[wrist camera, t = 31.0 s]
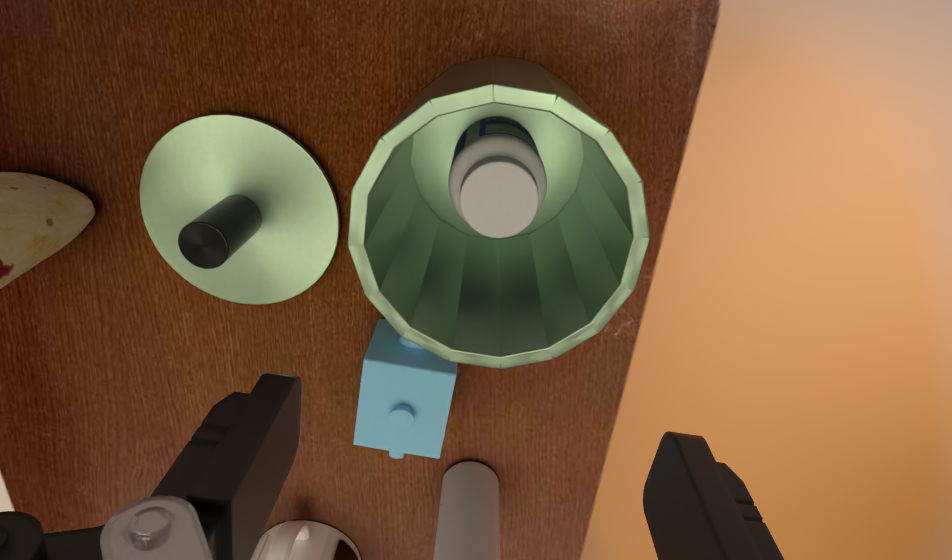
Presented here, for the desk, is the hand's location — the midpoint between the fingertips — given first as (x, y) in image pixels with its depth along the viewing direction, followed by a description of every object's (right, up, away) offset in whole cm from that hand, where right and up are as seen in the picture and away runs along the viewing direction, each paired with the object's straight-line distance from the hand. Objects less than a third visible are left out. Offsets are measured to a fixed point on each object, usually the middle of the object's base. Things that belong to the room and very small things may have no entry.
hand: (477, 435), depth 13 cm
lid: (-16, +8, +27) cm, 33 cm away
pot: (+1, +12, +26) cm, 28 cm away
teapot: (-5, -2, +32) cm, 33 cm away
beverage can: (0, -13, +38) cm, 40 cm away
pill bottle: (+1, +11, +25) cm, 28 cm away
